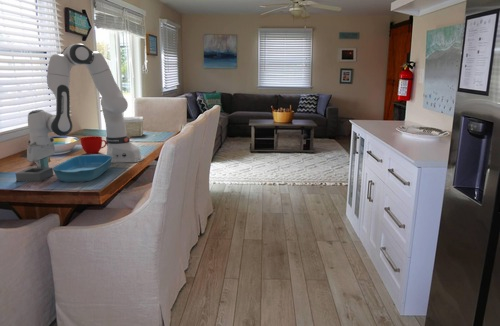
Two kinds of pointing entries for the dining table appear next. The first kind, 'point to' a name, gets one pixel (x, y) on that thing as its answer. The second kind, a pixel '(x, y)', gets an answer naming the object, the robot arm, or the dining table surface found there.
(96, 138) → the ceramic cup
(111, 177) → the dining table surface
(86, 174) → the casserole dish
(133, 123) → the storage basket
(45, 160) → the block
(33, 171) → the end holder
